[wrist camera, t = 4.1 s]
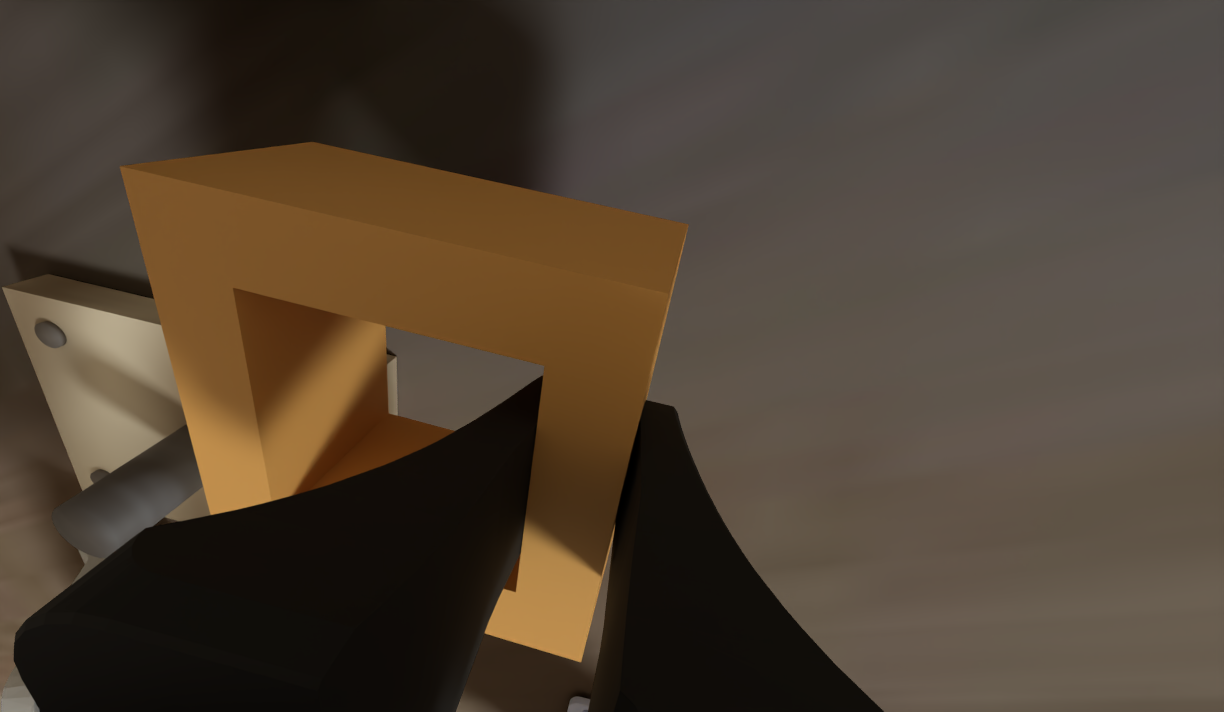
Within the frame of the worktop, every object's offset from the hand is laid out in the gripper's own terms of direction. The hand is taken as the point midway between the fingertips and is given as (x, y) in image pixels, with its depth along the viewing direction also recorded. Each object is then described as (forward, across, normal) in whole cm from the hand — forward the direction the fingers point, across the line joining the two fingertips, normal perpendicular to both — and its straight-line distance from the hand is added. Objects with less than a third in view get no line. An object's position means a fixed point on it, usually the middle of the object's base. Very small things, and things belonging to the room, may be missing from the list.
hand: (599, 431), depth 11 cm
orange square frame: (+2, +3, 0) cm, 4 cm away
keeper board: (+7, +15, +9) cm, 19 cm away
